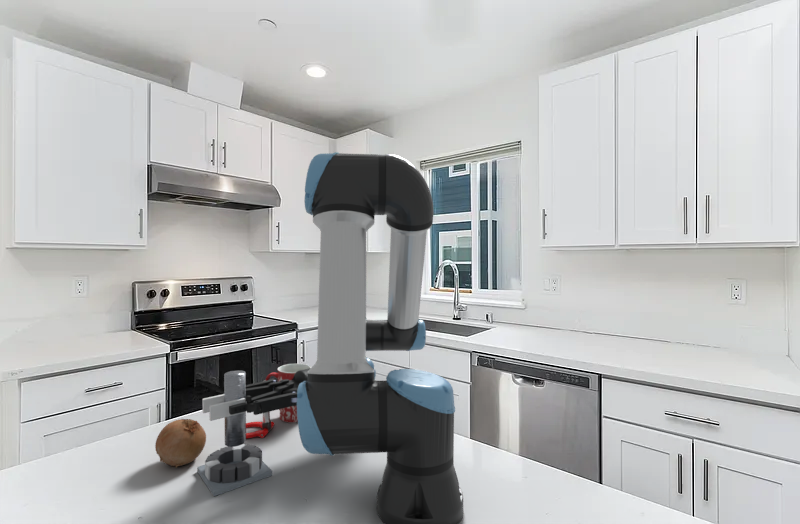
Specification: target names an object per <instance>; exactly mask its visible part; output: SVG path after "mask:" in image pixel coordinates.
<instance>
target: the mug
mask: <svg viewBox="0 0 800 524" xmlns="http://www.w3.org/2000/svg"><path fill="white" fill-rule="evenodd" d="M311 367H312V366H311V365H309V364H306V363H287V364H283V365H281V366H278V367H277V369H276V370H277V372H274V371H273V372H270V373H269V374H267V375H266V377H265V380H266V381H267V380H270V379H271V377H274V378H278V382H279V381H281V380H285V379H289V380H292V379H293V377H294V375H295V373H296V372H297V371H299V370H304V369H309V368H311ZM278 411H279V420H281V421H282V422H283V423H284V422H285V423H298V419H297V406H291V407H286V408H282V409H278Z"/></svg>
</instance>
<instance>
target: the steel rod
mask: <svg viewBox="0 0 800 524" xmlns="http://www.w3.org/2000/svg"><path fill="white" fill-rule="evenodd" d="M246 375H247V373H246V371H245V370H230V371H227V372H225V373H224V374H223V376H224V377H223V378H224V379H223V380H224V381H223V387H224V391H223V394H224V402H228V401H232V400H237V399H241V398H245V402H246V385H247V384H246V383H247V381H246ZM246 423H247V411H245V413H241V414H237V415H233V416H229V417H225V418H224V446H225V447H235V446H239V445H242V444H245V443H246V441H247V438H246V433H247V428H246Z"/></svg>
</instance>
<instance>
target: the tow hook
mask: <svg viewBox="0 0 800 524" xmlns="http://www.w3.org/2000/svg"><path fill="white" fill-rule="evenodd" d="M263 381H266V379H265V380H263ZM270 413H271V411H270V412H266V413H262V421H250V422H246V429H248V428H253V427H254V428H255V427H256V428H261V429H258V430H256V431H253V432H246V439H252V438H255V437H259V438H261V439H264V438H265V436H267V434H269V433H270V432H271V431H272V429H273V428H274V426H275V422H274V421H272V420H271V415H270Z"/></svg>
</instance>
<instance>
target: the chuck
mask: <svg viewBox="0 0 800 524" xmlns="http://www.w3.org/2000/svg"><path fill="white" fill-rule="evenodd" d="M196 471H197V473H198V475H199V476H200V478H201V480H202V482H204V484H205V486H206V487H207V488H208V490H209V492H210V493H211V495H212V496H213V497H217V496H219V495H221V494H224V493H227V492H230V491H233V490H236V489H239V488H240V487H244V486H246V485H250V484H252V483H255V482H258V481H261V480H263V479H266V478H268V477H271V476H272V475H273V470H272V469H271V468H270V467H269V466H268V465H267V464H266V463H265V462H264V461H263V450H262V449H261V448H260V447H259V446H257V445H255V444H254V445H253V444H249V443H247V444H245V443H244V444H242V445H239V446H235V447H228V446H225V447H221V448H220V449H216V450H214V451H213V452H212V453H210V454H209V455H208V456H207V457H206V459H205V461H204V464H203V465H200V466H196Z"/></svg>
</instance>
